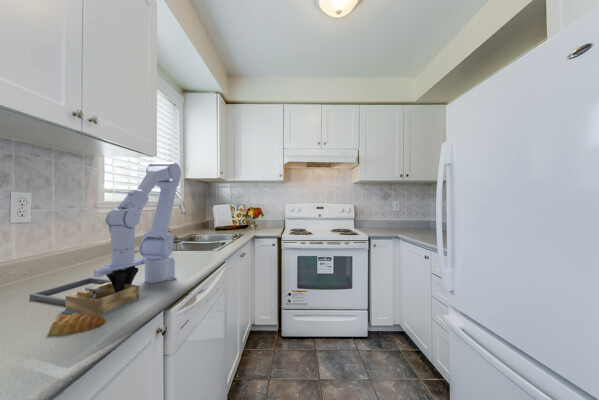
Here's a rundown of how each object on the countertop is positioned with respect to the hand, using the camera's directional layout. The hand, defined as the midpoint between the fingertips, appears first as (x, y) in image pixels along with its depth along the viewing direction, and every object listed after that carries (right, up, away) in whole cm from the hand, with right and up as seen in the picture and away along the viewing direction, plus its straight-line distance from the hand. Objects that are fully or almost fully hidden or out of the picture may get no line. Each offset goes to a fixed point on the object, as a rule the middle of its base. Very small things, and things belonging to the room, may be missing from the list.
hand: (122, 294), depth 72 cm
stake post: (-2, -2, -8) cm, 8 cm away
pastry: (+2, -2, -17) cm, 17 cm away
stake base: (-1, -2, -5) cm, 5 cm away
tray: (-15, -2, +3) cm, 16 cm away
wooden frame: (-1, -1, -5) cm, 5 cm away
